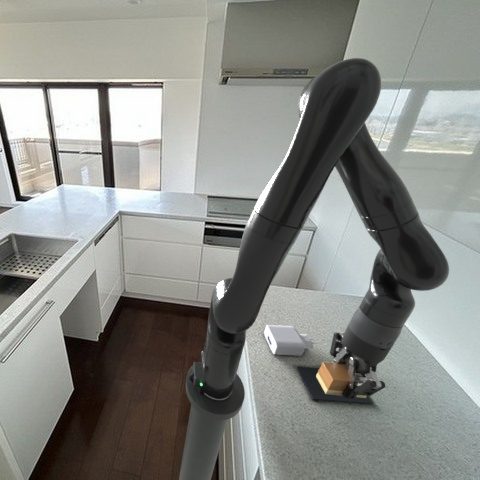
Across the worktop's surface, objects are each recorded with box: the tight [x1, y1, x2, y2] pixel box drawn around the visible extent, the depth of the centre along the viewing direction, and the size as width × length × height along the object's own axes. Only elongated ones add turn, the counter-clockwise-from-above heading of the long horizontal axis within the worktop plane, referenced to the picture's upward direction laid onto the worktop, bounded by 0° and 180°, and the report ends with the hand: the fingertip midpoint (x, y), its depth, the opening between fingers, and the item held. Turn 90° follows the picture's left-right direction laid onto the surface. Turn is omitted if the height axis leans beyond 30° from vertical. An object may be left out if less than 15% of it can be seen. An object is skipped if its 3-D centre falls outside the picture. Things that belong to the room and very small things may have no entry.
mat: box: [296, 365, 374, 405], centre depth 73 cm, size 16×10×1 cm, turn 87°
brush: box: [316, 361, 367, 398], centre depth 59 cm, size 9×4×5 cm, turn 87°
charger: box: [263, 324, 317, 356], centre depth 84 cm, size 5×9×15 cm
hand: (340, 385), depth 59 cm, fingers closed on brush, 4 cm apart
